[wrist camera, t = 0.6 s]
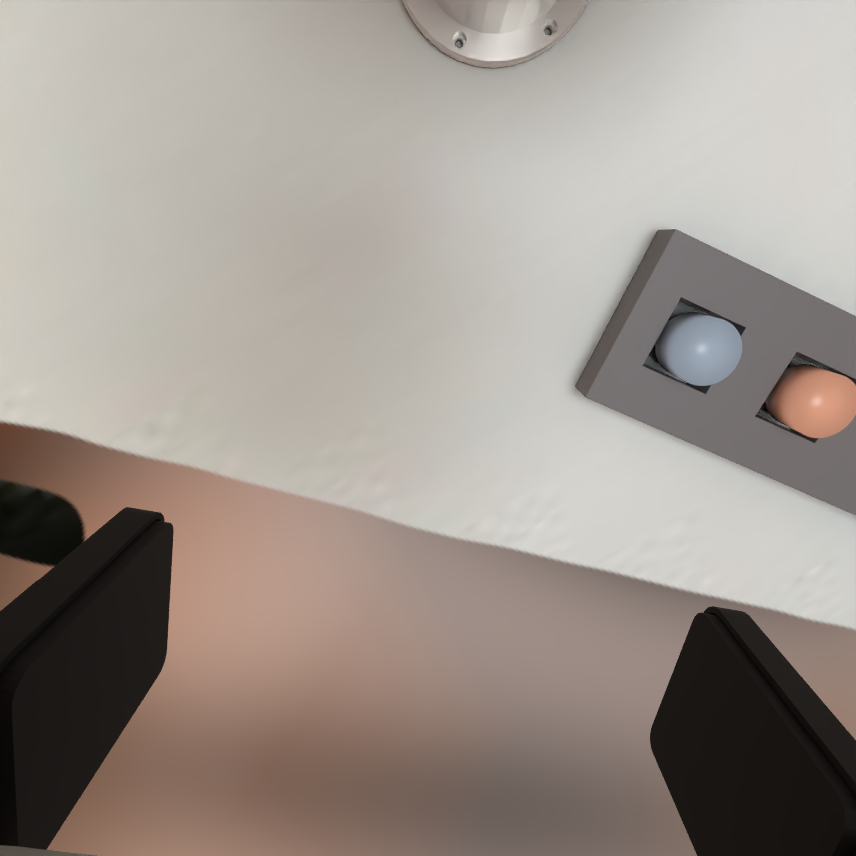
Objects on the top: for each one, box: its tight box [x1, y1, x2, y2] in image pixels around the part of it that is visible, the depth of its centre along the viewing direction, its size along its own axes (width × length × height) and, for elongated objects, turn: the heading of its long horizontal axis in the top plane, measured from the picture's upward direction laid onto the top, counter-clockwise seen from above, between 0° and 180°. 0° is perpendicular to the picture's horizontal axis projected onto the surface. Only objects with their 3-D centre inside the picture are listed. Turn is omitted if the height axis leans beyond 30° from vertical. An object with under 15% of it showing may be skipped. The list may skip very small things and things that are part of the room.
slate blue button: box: [655, 312, 742, 386], centre depth 38 cm, size 4×4×3 cm
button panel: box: [575, 229, 856, 515], centre depth 41 cm, size 12×28×3 cm, turn 67°
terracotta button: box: [766, 364, 856, 438], centre depth 39 cm, size 4×4×3 cm
